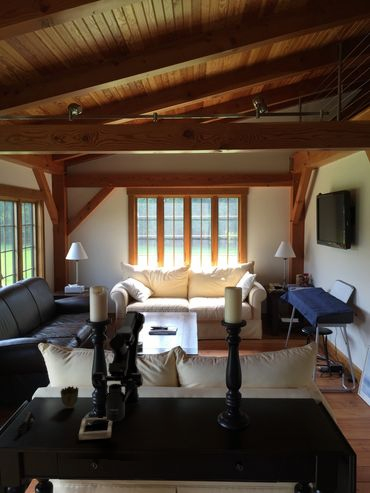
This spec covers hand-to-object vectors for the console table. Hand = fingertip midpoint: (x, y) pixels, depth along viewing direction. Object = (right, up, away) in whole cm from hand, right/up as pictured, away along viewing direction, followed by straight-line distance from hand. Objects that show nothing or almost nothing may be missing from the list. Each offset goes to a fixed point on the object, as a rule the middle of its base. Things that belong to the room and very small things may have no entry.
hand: (114, 401), depth 144 cm
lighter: (-34, -13, +6) cm, 37 cm away
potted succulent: (-23, -12, +23) cm, 35 cm away
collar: (-8, -13, +5) cm, 16 cm away
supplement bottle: (0, -7, +2) cm, 7 cm away
